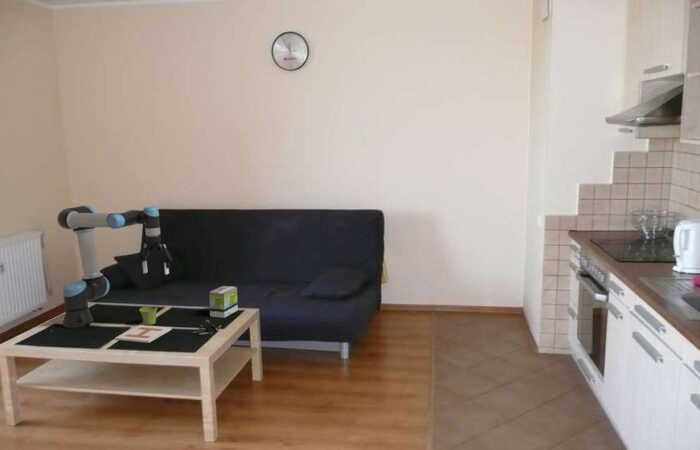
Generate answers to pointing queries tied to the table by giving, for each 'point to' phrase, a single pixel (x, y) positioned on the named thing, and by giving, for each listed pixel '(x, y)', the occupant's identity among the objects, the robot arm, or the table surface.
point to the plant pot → (149, 314)
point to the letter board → (143, 333)
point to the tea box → (223, 301)
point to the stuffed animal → (208, 328)
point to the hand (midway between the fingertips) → (156, 273)
